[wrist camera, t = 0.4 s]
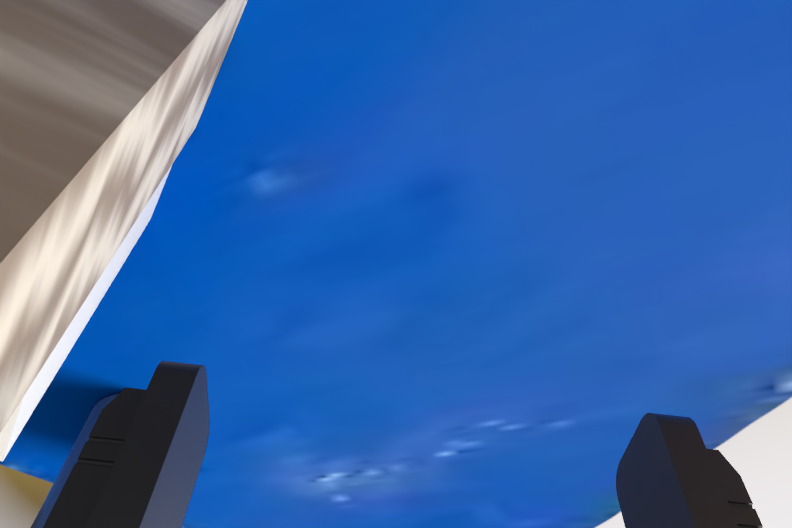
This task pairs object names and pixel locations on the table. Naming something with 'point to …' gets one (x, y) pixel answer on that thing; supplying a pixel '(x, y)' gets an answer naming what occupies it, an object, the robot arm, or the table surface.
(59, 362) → the white block
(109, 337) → the table surface
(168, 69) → the birch stand
